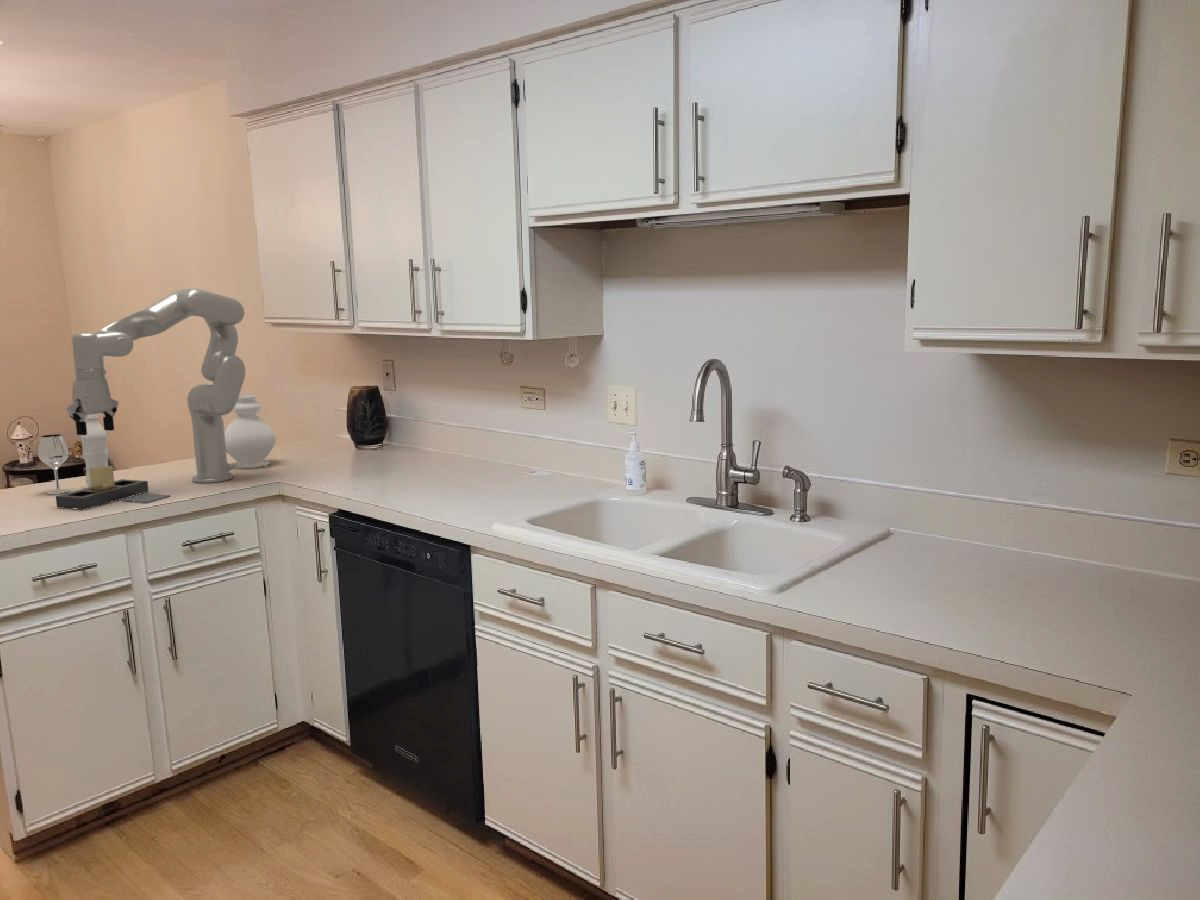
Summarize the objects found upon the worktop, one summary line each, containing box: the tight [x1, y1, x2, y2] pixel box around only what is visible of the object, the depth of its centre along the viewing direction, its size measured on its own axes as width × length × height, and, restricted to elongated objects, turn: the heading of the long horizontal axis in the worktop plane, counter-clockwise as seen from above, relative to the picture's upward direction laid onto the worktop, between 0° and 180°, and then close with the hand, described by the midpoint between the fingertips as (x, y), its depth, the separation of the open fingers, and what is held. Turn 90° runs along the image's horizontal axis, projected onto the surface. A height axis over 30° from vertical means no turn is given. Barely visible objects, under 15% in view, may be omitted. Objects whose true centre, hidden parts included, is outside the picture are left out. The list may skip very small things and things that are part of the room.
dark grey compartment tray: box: [55, 479, 149, 510], centre depth 268 cm, size 24×10×4 cm, turn 163°
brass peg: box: [89, 465, 115, 491], centre depth 267 cm, size 4×4×10 cm
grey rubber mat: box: [122, 492, 171, 504], centre depth 268 cm, size 9×9×1 cm
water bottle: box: [80, 413, 110, 488], centre depth 283 cm, size 7×7×25 cm
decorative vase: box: [224, 394, 276, 469], centre depth 317 cm, size 18×18×25 cm
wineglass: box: [37, 433, 70, 495], centre depth 277 cm, size 8×8×18 cm
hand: (95, 432), depth 264 cm, fingers open, 9 cm apart
